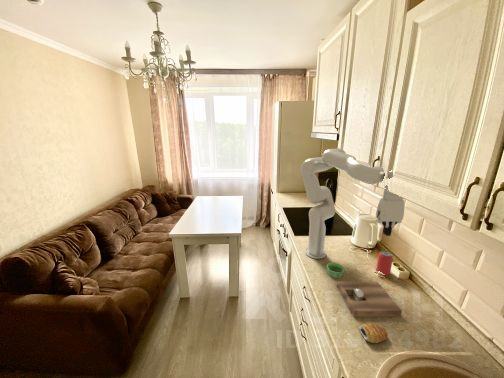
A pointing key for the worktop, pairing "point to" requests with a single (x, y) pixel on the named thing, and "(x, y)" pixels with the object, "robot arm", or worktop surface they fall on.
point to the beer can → (384, 262)
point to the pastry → (373, 333)
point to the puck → (358, 294)
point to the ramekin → (336, 267)
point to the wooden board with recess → (368, 300)
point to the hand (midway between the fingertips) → (386, 234)
